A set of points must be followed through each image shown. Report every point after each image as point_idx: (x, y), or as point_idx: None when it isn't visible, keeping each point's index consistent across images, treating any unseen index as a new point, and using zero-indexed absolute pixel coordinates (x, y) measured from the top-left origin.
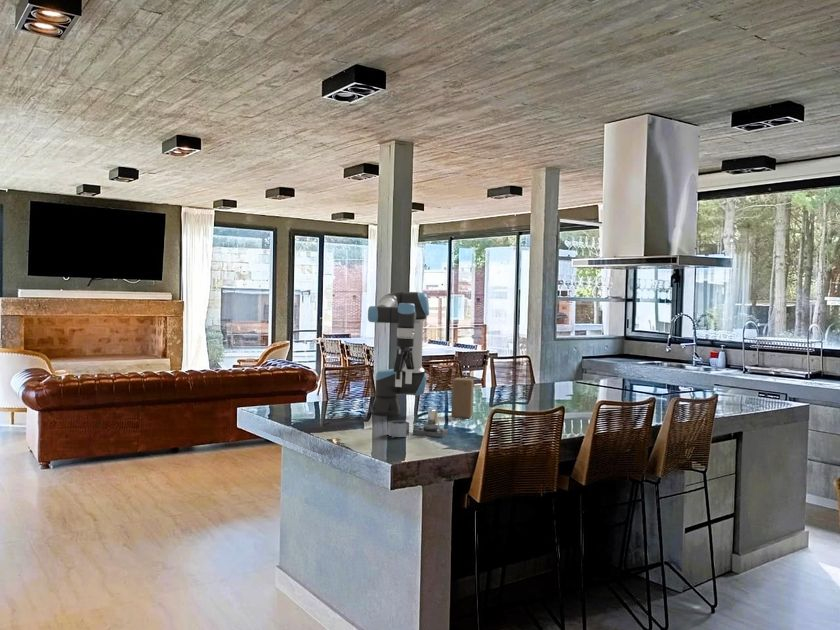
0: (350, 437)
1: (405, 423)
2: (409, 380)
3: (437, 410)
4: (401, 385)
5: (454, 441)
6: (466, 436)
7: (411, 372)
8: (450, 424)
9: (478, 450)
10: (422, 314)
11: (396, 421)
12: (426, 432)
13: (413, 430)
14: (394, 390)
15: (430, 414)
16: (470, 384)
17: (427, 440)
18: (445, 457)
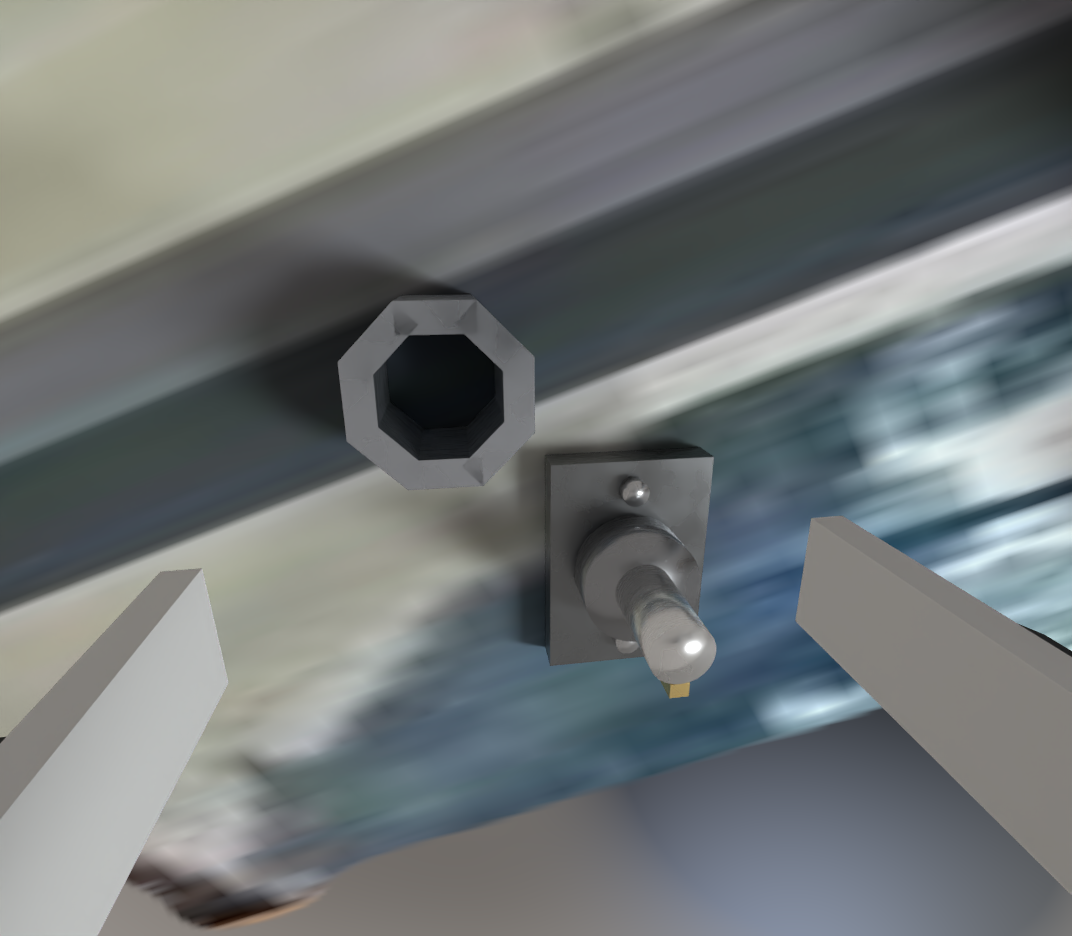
0: (108, 6)
1: (423, 473)
2: (844, 633)
3: (683, 696)
4: (210, 705)
5: (474, 733)
6: (652, 732)
7: (1002, 811)
8: (996, 534)
9: (316, 894)
10: None
11: (490, 358)
12: (549, 559)
13: (550, 467)
14: None
15: (638, 633)
16: None
17: (408, 604)
18: None
